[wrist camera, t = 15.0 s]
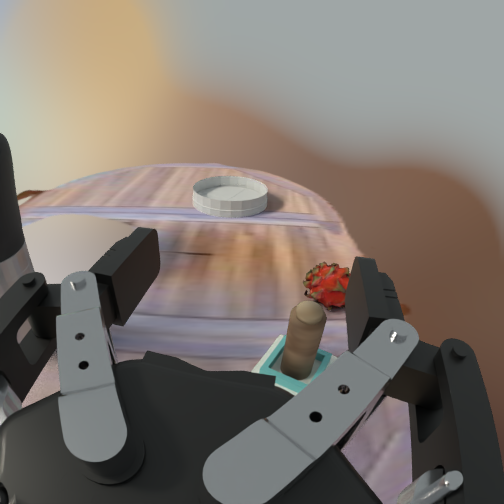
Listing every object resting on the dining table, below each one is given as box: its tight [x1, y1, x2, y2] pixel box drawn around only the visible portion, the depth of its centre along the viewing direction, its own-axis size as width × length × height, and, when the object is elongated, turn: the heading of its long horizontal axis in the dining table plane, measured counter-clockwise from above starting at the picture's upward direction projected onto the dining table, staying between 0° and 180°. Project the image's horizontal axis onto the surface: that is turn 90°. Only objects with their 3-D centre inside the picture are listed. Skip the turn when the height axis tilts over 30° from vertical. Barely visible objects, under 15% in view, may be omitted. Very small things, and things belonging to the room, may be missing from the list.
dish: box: [193, 176, 267, 218], centre depth 95 cm, size 22×22×5 cm
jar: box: [280, 301, 327, 380], centre depth 40 cm, size 4×4×11 cm
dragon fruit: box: [303, 262, 350, 310], centre depth 57 cm, size 8×8×12 cm
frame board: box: [251, 334, 338, 395], centre depth 39 cm, size 22×10×3 cm, turn 150°
